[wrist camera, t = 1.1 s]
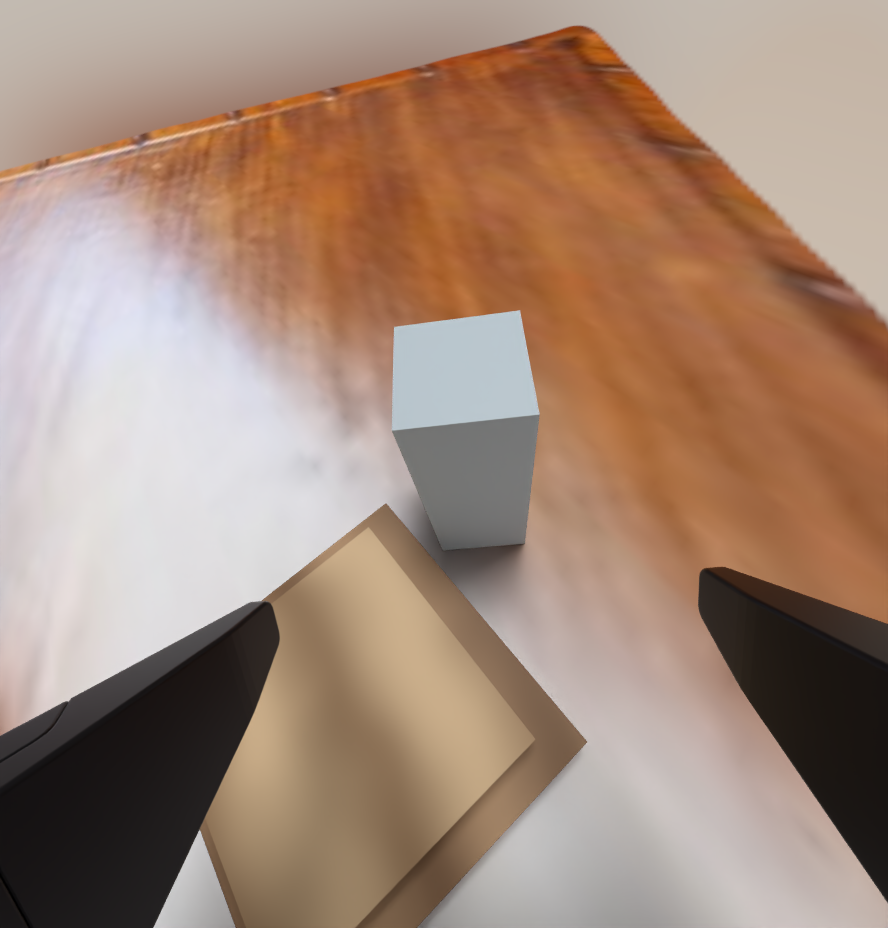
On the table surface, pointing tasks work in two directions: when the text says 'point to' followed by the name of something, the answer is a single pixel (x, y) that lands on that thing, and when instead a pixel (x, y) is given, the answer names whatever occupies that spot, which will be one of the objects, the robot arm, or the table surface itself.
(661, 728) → the table surface
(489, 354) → the block
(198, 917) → the table surface
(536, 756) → the plinth
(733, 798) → the table surface
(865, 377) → the table surface
